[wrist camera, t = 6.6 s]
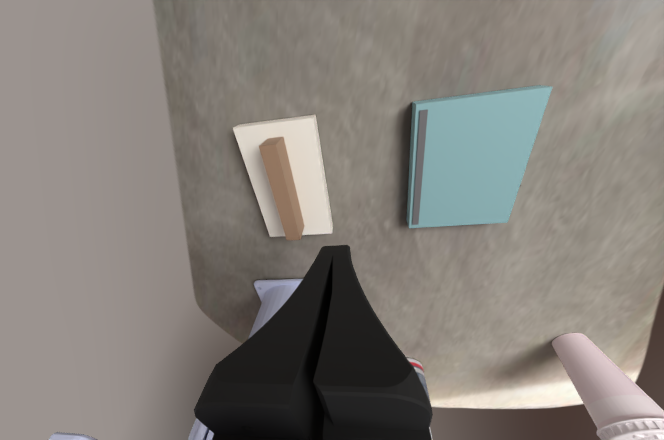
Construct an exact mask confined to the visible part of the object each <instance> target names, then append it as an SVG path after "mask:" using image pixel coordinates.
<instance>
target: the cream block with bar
mask: <svg viewBox="0 0 664 440" xmlns="http://www.w3.org/2000/svg"><path fill="white" fill-rule="evenodd" d="M233 130H234V133H235V136H236V139H237V142H238V145H239V148H240V151H241V154H242V157H243V159H244V162H245V165H246V168H247V171H248V174H249V177H250V180H251V183H252V186H253V189H254V191H255V194H256V197H257V200H258V203H259V206H260V209H261V212H262V215H263V218H264V221H265V223H266V226H267V229H268V232H269V235H270V237H277V236H286V240H300V239H301V236H302V235H312V234H329V233H332V229H333V223H332V217H331V210H330V204H329V197H328V191H327V185H326V178H325V172H324V165H323V159H322V153H321V146H320V140H319V134H318V127H317V121H316V115H309V116H302V117H294V118H286V119H279V120H271V121H263V122H256V123H248V124H240V125H238V126H236V127H234V128H233Z"/></svg>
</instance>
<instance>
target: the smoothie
mask: <svg viewBox="0 0 664 440" xmlns="http://www.w3.org/2000/svg"><path fill="white" fill-rule="evenodd" d="M552 346H553V348H554V350H555V352H556V353H557V355H558V357H559V359H560V361H561V363H562V364H563V366H564V368H565V370H566V372H567V374H568V375H569V377H570V379H571V381H572V383H573V385H574V386H575V388H576V390H577V392H578V394H579V396H580V397H581V399H582V401H583V403H584V405H585V407H586V408H587V410H588V412H589V414H590V416H591V418H592V419H593V421H594V423H595V425H596V426H597V428H598V431H597V435H598V436H599V437H600V439H601V440H664V411H663V410H662V409H661V408H660V407H659V406H658V405H657V404H656V403H655V402H654V401H653V400H652V399H651V398H650V397H649V396H648V395H647V394H646V393H645V392H644V391H643V390H641V389H640V388H639V387H638V386H637V385H636V384H635V383H634V382H633V381H632V380H631V379H630V378H629V377H628V376H627V375H626V374H625V373H624V372H623V371H622V370H621V369H620V368H619V367H618V366H616V365H615V364H614V363H613V362H612V361H611V360H610V359H609V358H608V357H607V356H606V355H605V354H604V353H603V352H602V351H601V350H600V349H599V348H598V347H597V346H596V345H595V344H594V343H592V342H591V341H590V340H589V339H588V338H587V337H586V336H585V335H584V334H581V333H568V334H564V335H561V336H559V337H557V338H555V339H554V340H553V341H552Z"/></svg>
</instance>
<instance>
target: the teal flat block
mask: <svg viewBox="0 0 664 440" xmlns="http://www.w3.org/2000/svg"><path fill="white" fill-rule="evenodd" d="M551 90H552V87H550V86H541V85H538V86H531V87H523V88H515V89H507V90H500V91H492V92H484V93H477V94H469V95H461V96H454V97H446V98H438V99H431V100H423V101H415V102H412V121H411V141H410V161H409V182H408V202H407V223H408V226H409V228H421V227H438V226H455V225H472V224H489V223H506V222H508V220H509V217H510V214H511V211H512V208H513V205H514V202H515V199H516V196H517V193H518V190H519V187H520V183H521V180H522V177H523V174H524V171H525V168H526V165H527V162H528V159H529V156H530V153H531V150H532V147H533V144H534V141H535V138H536V135H537V132H538V129H539V126H540V123H541V120H542V117H543V114H544V111H545V108H546V105H547V102H548V99H549V96H550V93H551Z"/></svg>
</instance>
